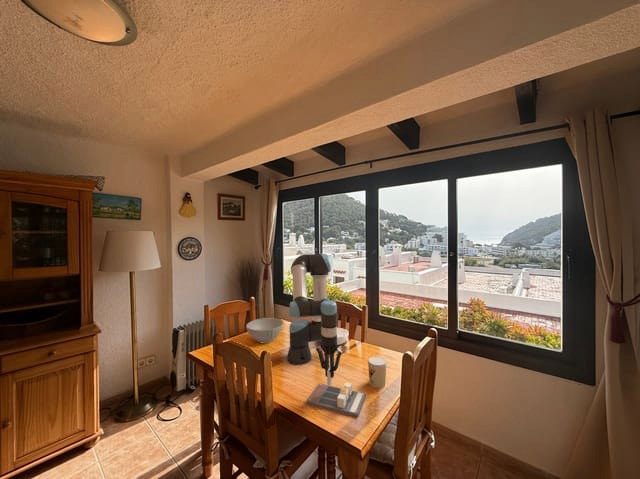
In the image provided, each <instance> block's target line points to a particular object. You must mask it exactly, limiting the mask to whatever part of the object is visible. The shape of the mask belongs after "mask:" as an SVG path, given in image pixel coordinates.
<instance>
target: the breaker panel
mask: <svg viewBox="0 0 640 479" xmlns="http://www.w3.org/2000/svg"><path fill="white" fill-rule="evenodd" d="M343 388H348V399H347V401H346V395H342V394H340V390H341V389H342V387H337V386H333V385H327V384H323V383H320V382H319V383H318V384H317V386H315V389H313V391H312V392H311V394H310V395H309V396H308V398H307V399H306V401H305V402H306V405H307V406H308V405H309V406H311V407H316V408H320V409H323V410H328V411H331V412H333V413H334V412H335V413H339V414H342V415H346V416H349V417H354V418H357V419H358V418H359V416H360V413H361V411H362V409H363V406H364V403H365V400H366V398H367V393H365V392H359V391H355V390H353V383H351V382H345V383H344V384H343Z"/></svg>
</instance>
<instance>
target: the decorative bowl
mask: <svg viewBox="0 0 640 479" xmlns="http://www.w3.org/2000/svg"><path fill="white" fill-rule="evenodd" d="M245 327H246V330H247V333H248V334H249V336H250V338H252V339H253V340H255V341H256V342H257V341H258V342H263V343H262V344H267V343H266V342H269V343H271V342H270V341H272V340H273V341H274V340H275V339H276V338H277V337H278V336H279V334H281V332H282V330H283V327H284V321H283V320H282V319H280V318H278V317H277V318H275V317H263V318H257V319H254V320H251V321H249V322H248V323H247V324H245ZM273 341H272V342H273ZM258 342H257V343H258Z"/></svg>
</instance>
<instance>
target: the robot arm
mask: <svg viewBox="0 0 640 479" xmlns="http://www.w3.org/2000/svg"><path fill="white" fill-rule="evenodd" d="M331 272H332V265H331V260H330V256H329V255H328V254H327V253H309V254H307V253H306V254H305V253H303V254H301V255H299V256H298V257H296V258H295V259H294V260H293V262H292V263H291V266H290V274H291V275H292V297H293V298H292V301H290V302H289V316H290V317H291V318H300V319H296V320H294V321H292V322H290V324H289V330H288V332H289V349H288V351H287V355H286V357H287V358H286V360H287V362H288V363H290V364H292V365H304V364H307V363H309V362H311V360H312V359H313V358H312V356H313V355H312V352H311V349H310V346H309V345H310V344H309V343H312V342H313V343H315V342H316V343H317V342H321V343H320V345H318V346H317V347H316V348H315V350H316V352H317V354H318V359H319V363H320V367H321V369H323V370H325V375H324V376H325V377H326V380H327V383H326V385H329V386H332V383H333V378H334V377H335V372H336V371H337V370H338V369H339V364H340V359H341V356H342V354H343V352H344V351H343V349H340V348H339V345H337V328H338V319H337V318H338V317H337V316H338V314H337V313H338V312H337V311H338V305H337V303H336V301H335V300H330V299H328V294H327V293H328V292H327V291H328V290H327V288H328V287H327V277H329V273H331ZM306 274H309V275H310V277H311V278H312V296H313V300H308V289H307V280H306V279H307V278H306V277H307V276H306ZM305 317H312V318H311V321H309V320H308V319H306V318H305ZM301 318H302V319H301ZM304 318H305V319H304ZM335 354H336V358H335Z"/></svg>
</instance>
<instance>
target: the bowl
mask: <svg viewBox="0 0 640 479" xmlns="http://www.w3.org/2000/svg"><path fill="white" fill-rule="evenodd" d="M349 335H350V334H349V330H347V329H346V328H341V327H337V346H340V345H343V344H344V343H346V341H347V339H348V338H349Z"/></svg>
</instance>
